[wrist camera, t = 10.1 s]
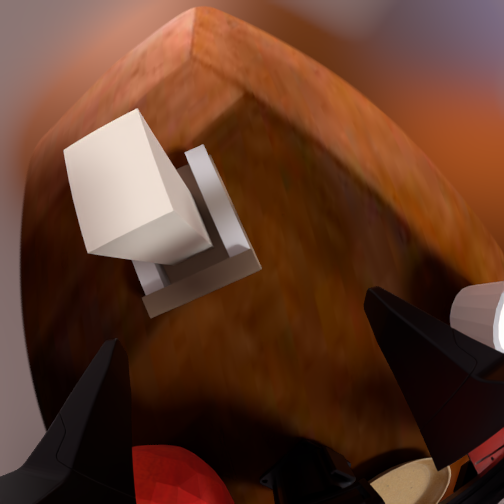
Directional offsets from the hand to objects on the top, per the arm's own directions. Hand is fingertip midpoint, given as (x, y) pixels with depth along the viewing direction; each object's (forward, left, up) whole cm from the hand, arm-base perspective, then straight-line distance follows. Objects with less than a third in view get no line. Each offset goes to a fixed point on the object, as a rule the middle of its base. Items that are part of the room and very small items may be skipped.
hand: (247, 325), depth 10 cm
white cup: (+12, -19, -13) cm, 26 cm away
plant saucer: (-9, -28, -14) cm, 33 cm away
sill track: (+1, +7, -13) cm, 15 cm away
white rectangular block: (+1, +7, -12) cm, 14 cm away
